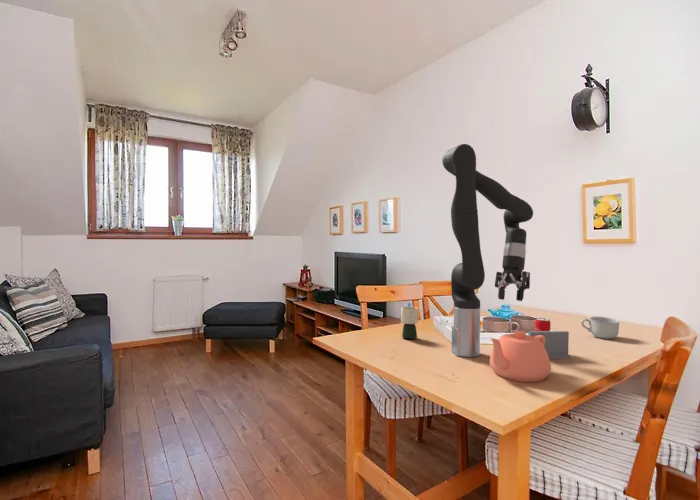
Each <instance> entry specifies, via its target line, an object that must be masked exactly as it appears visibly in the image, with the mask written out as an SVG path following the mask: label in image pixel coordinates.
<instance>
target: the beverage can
mask: <svg viewBox="0 0 700 500" xmlns="http://www.w3.org/2000/svg"><path fill="white" fill-rule="evenodd" d="M551 323H552V322H551V320H550V319H548V318H545V317H536V318H535V320H534V331H551Z"/></svg>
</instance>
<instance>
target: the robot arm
mask: <svg viewBox="0 0 700 500" xmlns="http://www.w3.org/2000/svg"><path fill="white" fill-rule="evenodd" d="M441 161H442V165H443V168H444V170H446V171H447V172H448V173H450V174H451V175H452V176H454V177H455V190H454V195H453V198H452V202H451V206H450V218H451V220H450V221H451V227H452V232H453V235H454V237H455V239H456V241H457V243H458V245H459V248H460V251H461V261H462V262H459V263H457V264H456V265H455V266H453V268H452V272H451V275H450V276H451V277H450V281H451V284H450V285H451V286H450V287H451V288H450V289H451V298H452V301H453V325H452V326H451V352H452V353H453V354H454V355H455V356H457V357H463V358H464V357H465V358H476V357H479V356H480V353H481V347H480V346H481V299H480V298H479V297H477V295H476V292H475V290H478V289H480V288H481V287H482V286H483V284H484V282H485V279H486V277H485V276H486V275H485V268H484V267H485V266H484V261H483V256H482V250H481V242H480V241H481V240H480V230H479V211H478V203H477V193H479V194H480V195H481V196H483V197H484V198H485V199H486V200H487V201H488V202H489V203H490V204H492V205H493V206H494V207H496V209H498V210H504V213H503V222H504V223H503V224H504V229H505V242H504V243H505V244H504V248H503V254H502V256H503V257H502V264H501V265H502V269H503V271H502V272H500V271H496V274H495V281H494V287H495V288H496V289H498V293H497V294H498V295H497V297H498V298H497V299H499V300H500V301H501V300H503V301H504V300H505V295H506V289H507V287H508V286H510V285H513V284H514V285H515V287H516V288H517V290H516V301H518V302H523V300H524V296H525V295H524V294H525V291H526V290H529V289H530V287H531V286H530V285H531V283H530V282H531V278H530V277H531V273H530V272H529V271H526V270H525V264H526V263H525V262H526V255H527V254H526V252H527V251H526V249H527V244H526V243H527V230H525V229H523V228H520V223H525V222H528V221H530V220H531V219H532V218H533V216H534V210H533V207H532V205H530V204H529V203H528V202H527V201H526V200H523V198H520V197H518V196H516V195H515V194H512V193H511V192H510V191H509V190H507V189H506V187H504V186H503V185H502V184H501V183H499V182H498V181H496V180H494V179H493V178H491V177H489V176H488V175H485V174H483V173H481V172H480V171H478V170H477V155H476V151H475V149H474V148H473V147H472V146H471V145H469V144H467V143H462V144H459V145H457V146H454V147H452V148H451V149H448V150H446V152H445V153H444V154H443V157H442V160H441Z"/></svg>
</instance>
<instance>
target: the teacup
mask: <svg viewBox="0 0 700 500" xmlns="http://www.w3.org/2000/svg"><path fill="white" fill-rule="evenodd" d="M585 322H588V325H589V327H588V326H586V325H585ZM620 323H621V322H620V320H618V319H616V318H611V317H605V316H590V317H589V318H586V317H585V318H583V319H581V321H580V325H581V326H582V328H584V329H586V331H588V332H589V333H591V334H592V335H593V336H594V337H595V338H598V339H603V340H612V339H614V338H615V337H617V336H618V334H619V333H620V331H619V329H620Z"/></svg>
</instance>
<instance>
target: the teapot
mask: <svg viewBox="0 0 700 500" xmlns="http://www.w3.org/2000/svg"><path fill="white" fill-rule="evenodd" d="M489 339H490V340H491V341H492V344H493V347H492V348H493V349H492V351H491V353H490V356H489V357H490V358H489V365H490V368H491V369H492V371H493V373H495V374H496V375H498V376H499V377H502V378H504V379H508V380H510V381H513V382H514V381H515V382H520V383H535V382H537V383H538V382H541V381H543V380H544V379H546V378H547V377H548V376H549V375H550V374H551V370H552V364H551V361H550V359H551V358H549V356H548V354H547V352H546V350H545V348H544V345H545V337H544V336H542V335H537V336H534V337H532V336H528V335H527V332H526V331H525V330H520V329H519V330H518V329H517V330H516V329H515V330H513V333H507V334H503V335H501V336H499V338H498V339H496V338H492V337H489Z"/></svg>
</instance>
